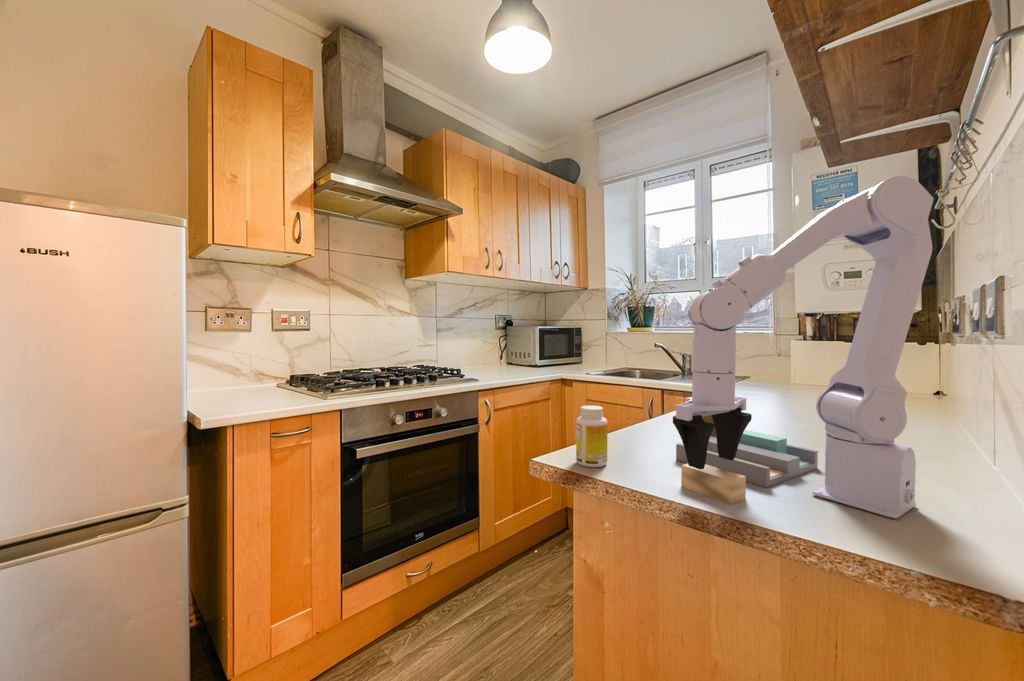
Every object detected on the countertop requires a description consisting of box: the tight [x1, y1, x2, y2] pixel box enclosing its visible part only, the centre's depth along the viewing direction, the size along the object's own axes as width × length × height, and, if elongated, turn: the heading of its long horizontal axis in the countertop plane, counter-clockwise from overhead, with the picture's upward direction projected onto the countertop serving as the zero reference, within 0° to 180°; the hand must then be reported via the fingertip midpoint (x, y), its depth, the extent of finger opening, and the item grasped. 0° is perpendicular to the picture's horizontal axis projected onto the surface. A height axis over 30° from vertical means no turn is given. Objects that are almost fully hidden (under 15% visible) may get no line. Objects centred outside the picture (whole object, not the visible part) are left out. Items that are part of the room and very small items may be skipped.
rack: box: [675, 436, 819, 489], centre depth 75 cm, size 16×17×3 cm
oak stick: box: [680, 463, 747, 506], centre depth 62 cm, size 8×4×4 cm, turn 32°
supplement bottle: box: [575, 404, 608, 468], centre depth 76 cm, size 6×6×10 cm
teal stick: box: [739, 429, 788, 454], centre depth 78 cm, size 8×4×4 cm, turn 32°
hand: (711, 462), depth 62 cm, fingers open, 7 cm apart
